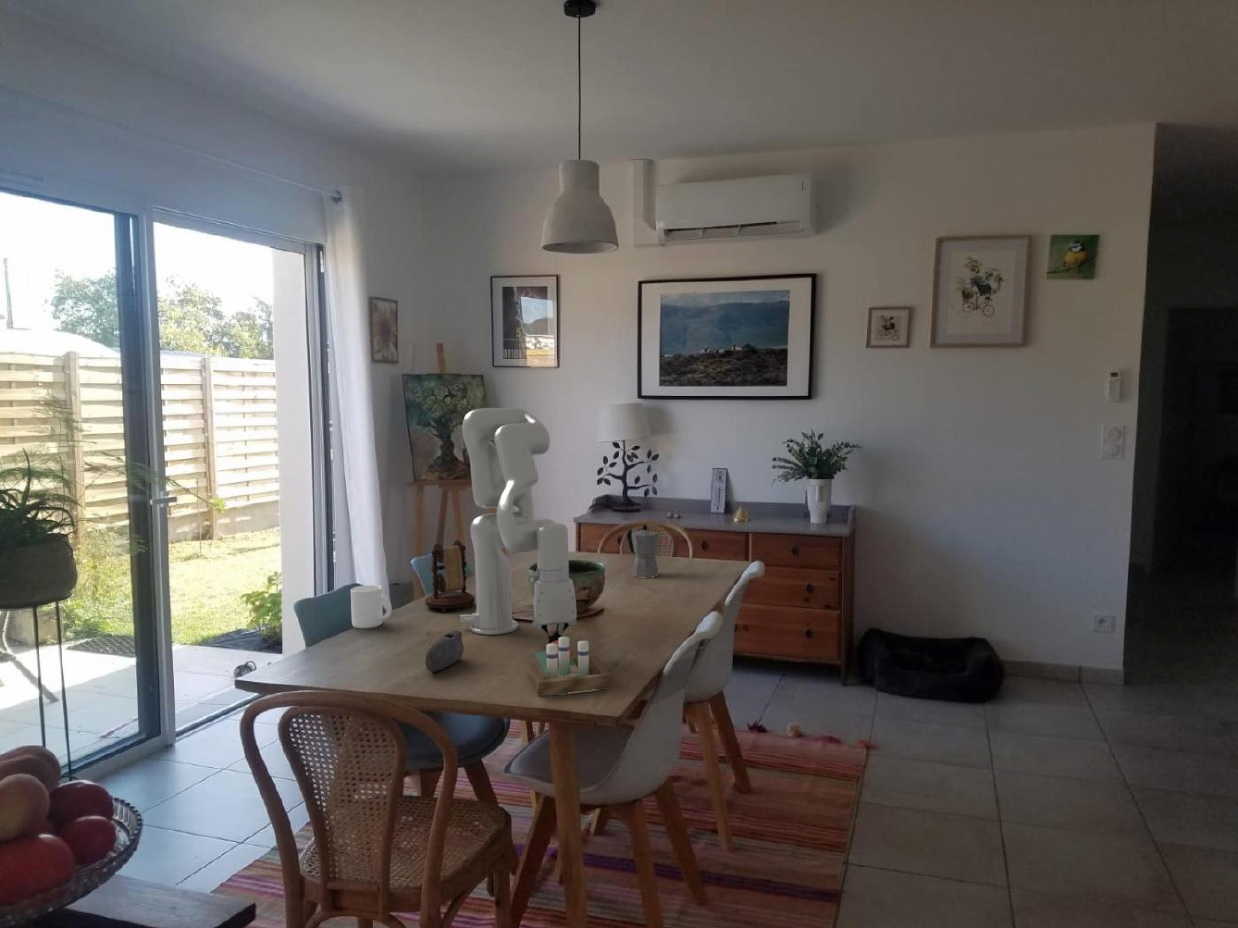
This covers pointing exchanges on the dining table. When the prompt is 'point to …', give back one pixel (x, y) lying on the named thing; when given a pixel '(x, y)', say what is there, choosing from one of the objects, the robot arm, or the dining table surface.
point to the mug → (368, 606)
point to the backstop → (571, 680)
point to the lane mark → (543, 661)
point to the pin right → (583, 658)
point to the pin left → (552, 661)
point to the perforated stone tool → (445, 651)
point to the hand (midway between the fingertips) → (555, 650)
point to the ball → (558, 650)
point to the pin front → (564, 656)
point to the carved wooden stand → (449, 578)
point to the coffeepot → (643, 551)
